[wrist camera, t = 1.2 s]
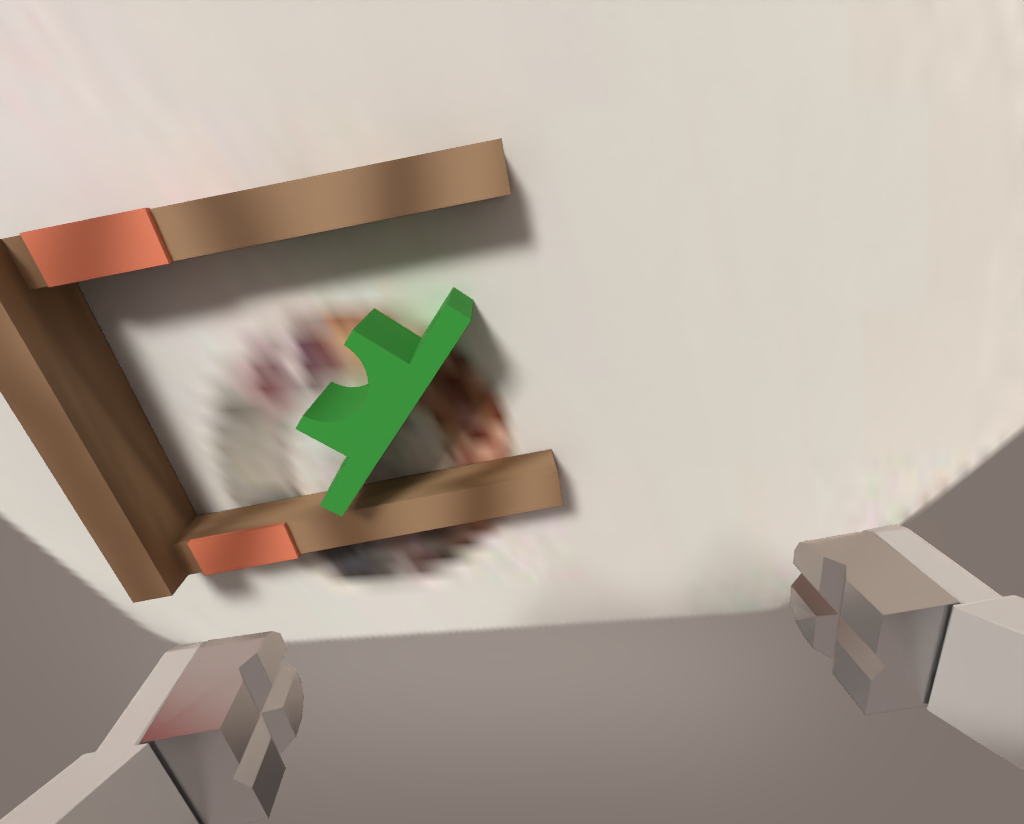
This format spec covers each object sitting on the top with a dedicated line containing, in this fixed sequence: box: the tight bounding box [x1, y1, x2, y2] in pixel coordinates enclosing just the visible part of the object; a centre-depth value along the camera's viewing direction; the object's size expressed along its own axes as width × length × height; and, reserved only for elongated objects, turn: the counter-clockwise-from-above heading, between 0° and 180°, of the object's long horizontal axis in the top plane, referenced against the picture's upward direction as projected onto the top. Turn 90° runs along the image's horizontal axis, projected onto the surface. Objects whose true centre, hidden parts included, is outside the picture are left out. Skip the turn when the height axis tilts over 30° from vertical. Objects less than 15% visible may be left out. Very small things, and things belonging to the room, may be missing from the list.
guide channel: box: [0, 138, 563, 603], centre depth 23 cm, size 22×17×4 cm
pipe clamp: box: [296, 287, 473, 516], centre depth 23 cm, size 11×4×5 cm, turn 145°
